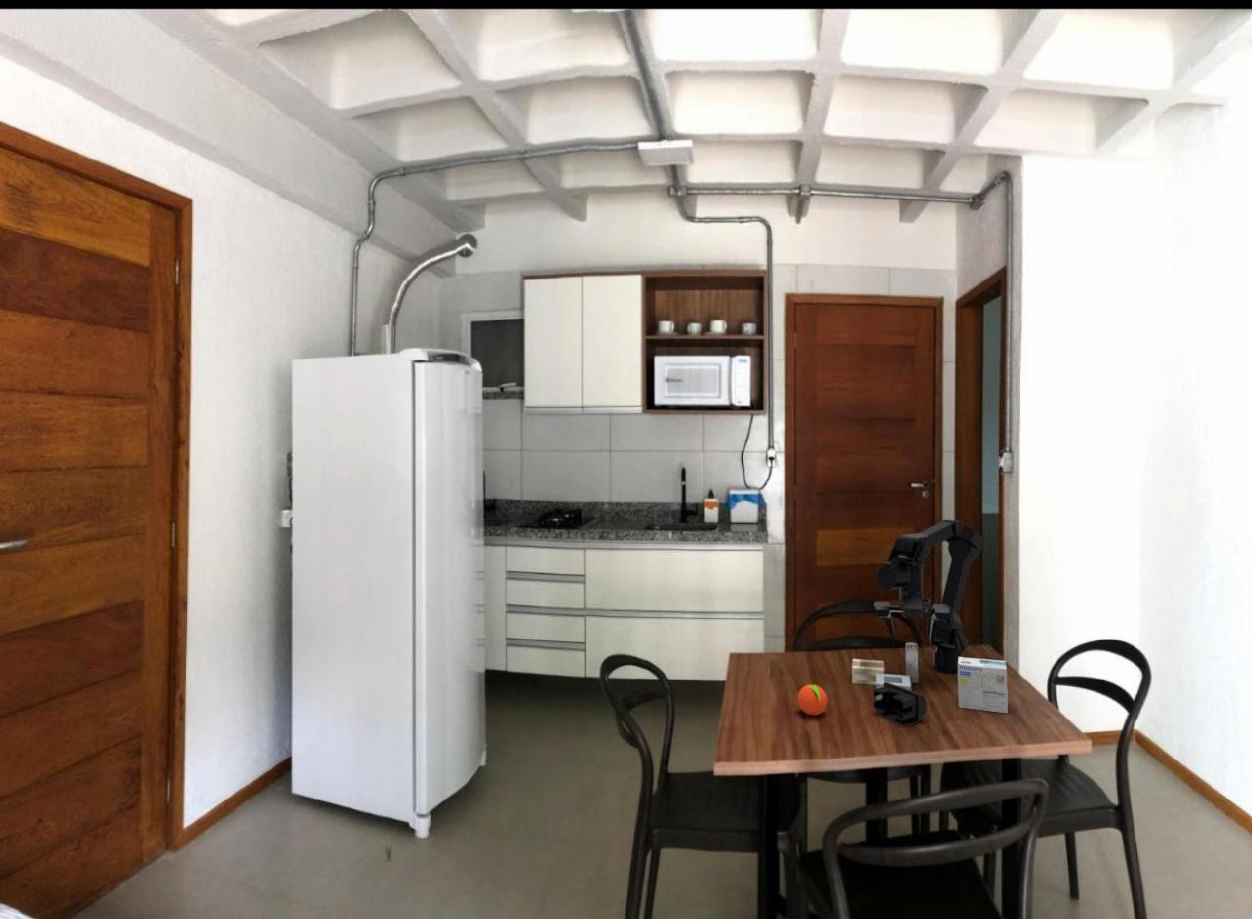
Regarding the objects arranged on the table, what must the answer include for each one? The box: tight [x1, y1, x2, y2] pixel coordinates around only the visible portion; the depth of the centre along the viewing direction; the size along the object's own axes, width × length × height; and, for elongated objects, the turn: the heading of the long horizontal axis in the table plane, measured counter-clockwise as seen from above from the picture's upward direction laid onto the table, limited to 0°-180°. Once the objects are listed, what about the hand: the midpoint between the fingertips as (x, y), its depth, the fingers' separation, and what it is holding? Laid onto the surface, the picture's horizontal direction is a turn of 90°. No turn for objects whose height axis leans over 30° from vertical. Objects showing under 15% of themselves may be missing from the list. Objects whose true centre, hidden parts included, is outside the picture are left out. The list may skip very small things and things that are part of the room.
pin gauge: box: [905, 642, 919, 684], centre depth 191 cm, size 3×3×10 cm
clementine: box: [797, 684, 829, 716], centre depth 170 cm, size 8×7×7 cm
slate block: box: [875, 673, 912, 701], centre depth 181 cm, size 8×8×4 cm
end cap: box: [872, 682, 928, 727], centre depth 168 cm, size 10×7×7 cm
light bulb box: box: [957, 656, 1009, 714], centre depth 173 cm, size 11×7×11 cm, turn 65°
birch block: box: [851, 658, 885, 686], centre depth 194 cm, size 8×8×4 cm
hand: (912, 643), depth 191 cm, fingers open, 9 cm apart
